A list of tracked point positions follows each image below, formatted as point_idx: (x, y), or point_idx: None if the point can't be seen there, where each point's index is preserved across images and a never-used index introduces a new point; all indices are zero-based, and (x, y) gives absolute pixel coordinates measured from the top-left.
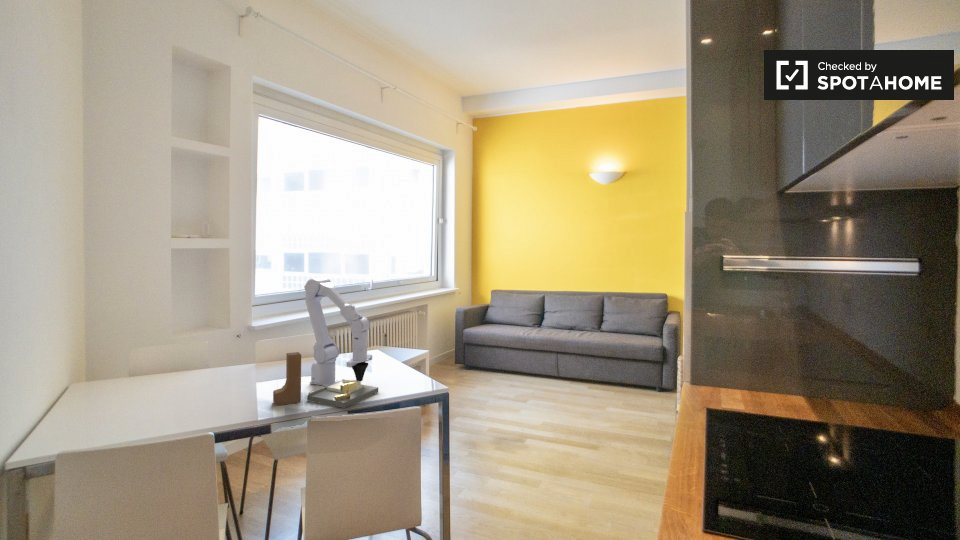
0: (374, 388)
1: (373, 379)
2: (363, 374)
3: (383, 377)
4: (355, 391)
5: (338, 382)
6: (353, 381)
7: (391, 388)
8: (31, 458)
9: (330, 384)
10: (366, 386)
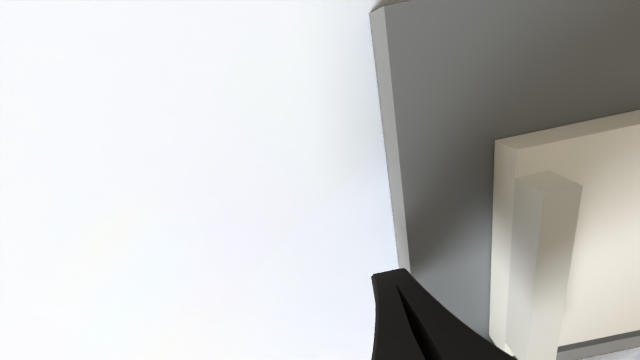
0: (446, 11)
1: (133, 333)
2: (392, 318)
3: (24, 324)
4: (636, 97)
5: None
6: (568, 250)
7: (162, 3)
8: None
9: (605, 353)
10: (432, 147)
